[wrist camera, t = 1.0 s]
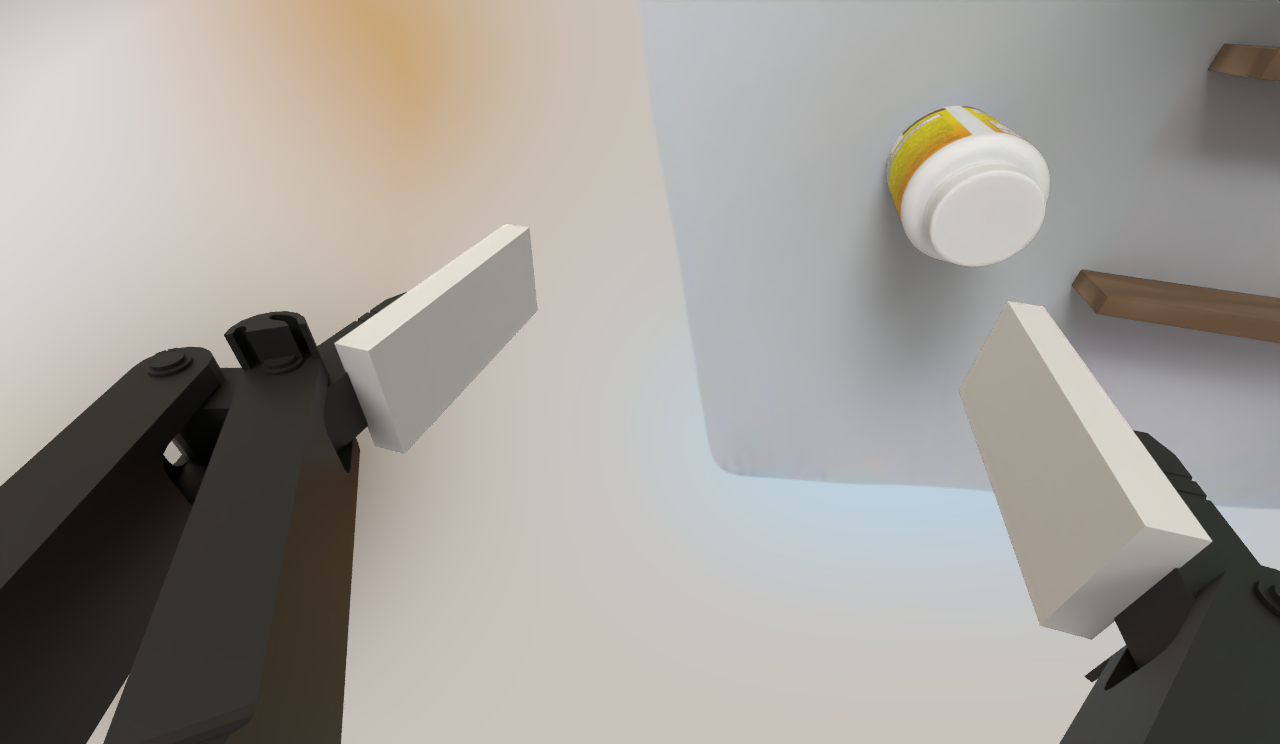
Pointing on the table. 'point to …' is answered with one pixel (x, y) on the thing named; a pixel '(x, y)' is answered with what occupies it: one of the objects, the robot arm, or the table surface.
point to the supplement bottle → (967, 187)
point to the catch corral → (1185, 301)
